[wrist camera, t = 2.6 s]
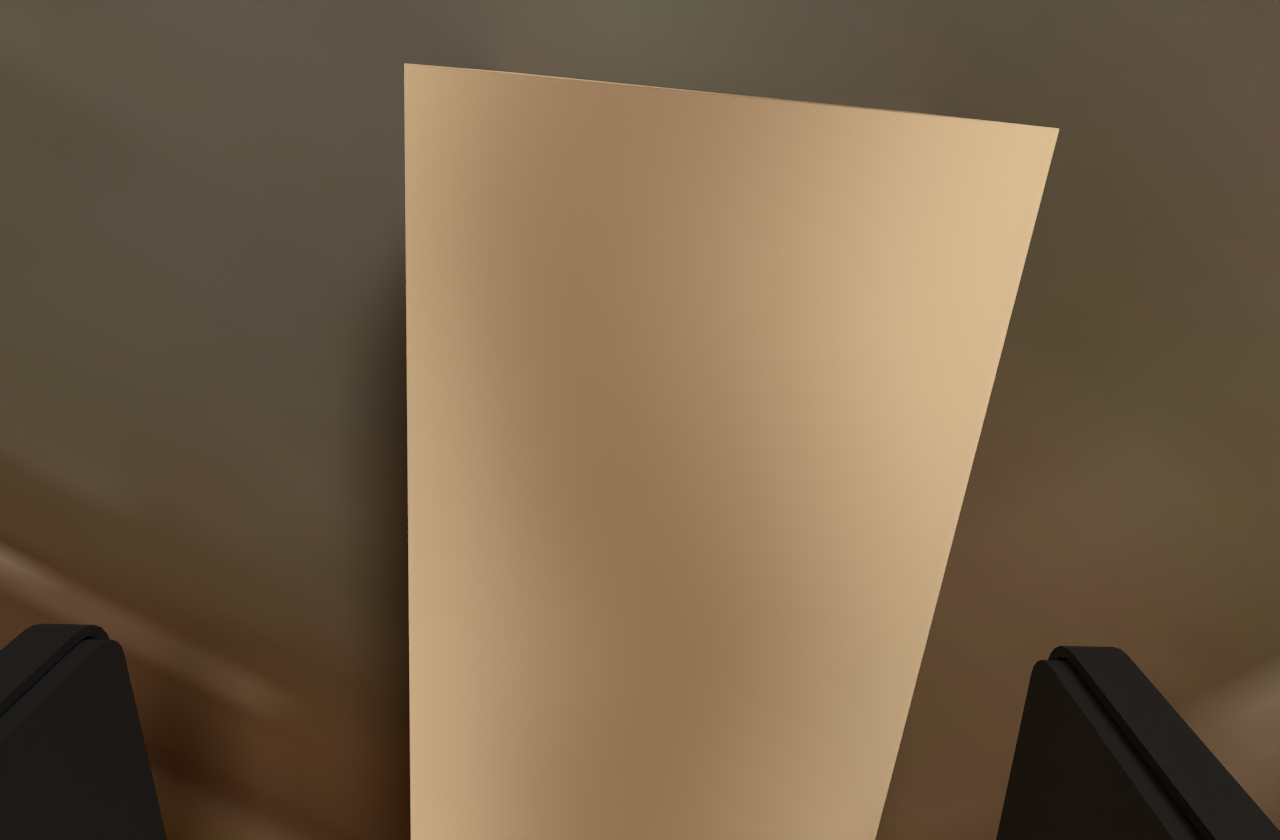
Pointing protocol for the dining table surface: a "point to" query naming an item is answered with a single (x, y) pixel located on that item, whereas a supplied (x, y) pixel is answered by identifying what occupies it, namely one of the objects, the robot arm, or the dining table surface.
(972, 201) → the tan wooden bar
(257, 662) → the dining table surface
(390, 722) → the dining table surface
